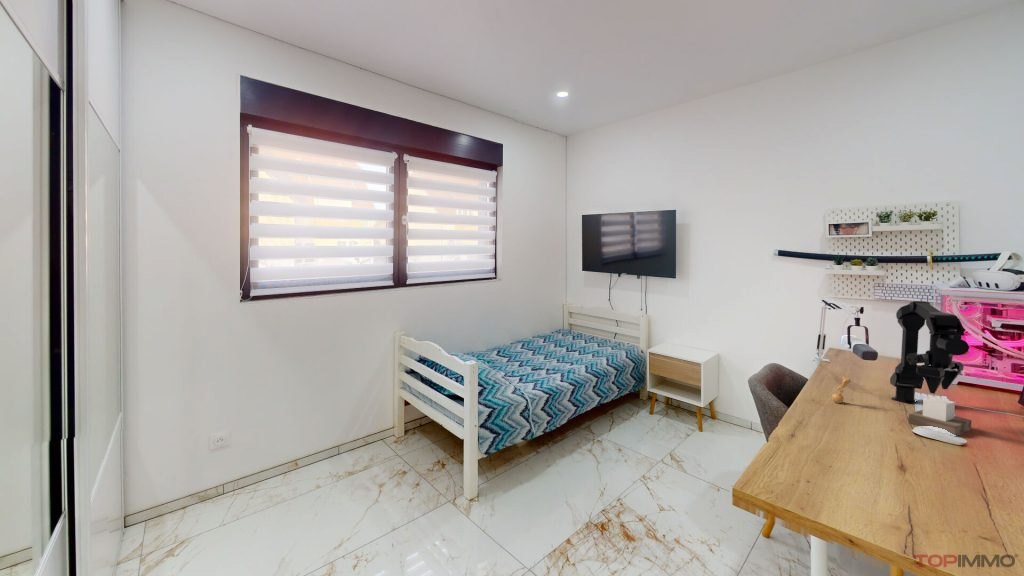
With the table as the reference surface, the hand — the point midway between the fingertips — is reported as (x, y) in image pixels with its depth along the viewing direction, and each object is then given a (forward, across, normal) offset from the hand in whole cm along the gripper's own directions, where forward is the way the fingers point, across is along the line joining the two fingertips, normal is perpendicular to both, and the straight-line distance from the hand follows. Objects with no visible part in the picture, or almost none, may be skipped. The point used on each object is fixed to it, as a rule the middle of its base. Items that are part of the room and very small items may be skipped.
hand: (938, 391), depth 141 cm
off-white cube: (+9, +1, +1) cm, 9 cm away
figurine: (+13, +6, -27) cm, 31 cm away
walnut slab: (+13, +1, +1) cm, 13 cm away
